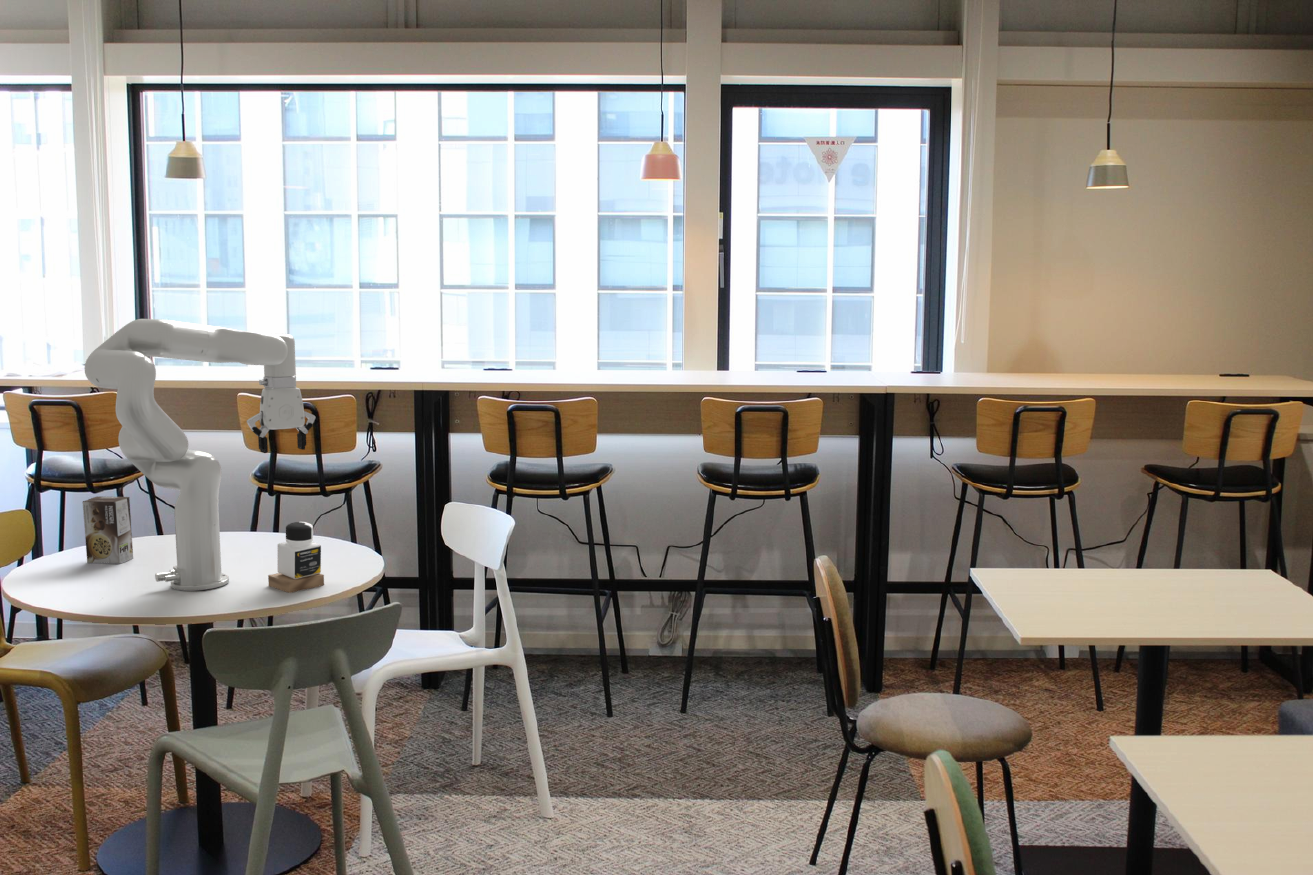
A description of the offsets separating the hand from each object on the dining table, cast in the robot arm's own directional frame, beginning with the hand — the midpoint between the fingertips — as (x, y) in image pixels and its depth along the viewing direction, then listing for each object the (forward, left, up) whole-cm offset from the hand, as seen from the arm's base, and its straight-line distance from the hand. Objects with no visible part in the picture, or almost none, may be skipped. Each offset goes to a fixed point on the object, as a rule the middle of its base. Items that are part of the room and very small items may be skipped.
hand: (283, 450), depth 273 cm
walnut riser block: (-8, -25, -29) cm, 39 cm away
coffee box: (-35, +27, -28) cm, 53 cm away
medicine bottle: (-7, -25, -26) cm, 36 cm away
